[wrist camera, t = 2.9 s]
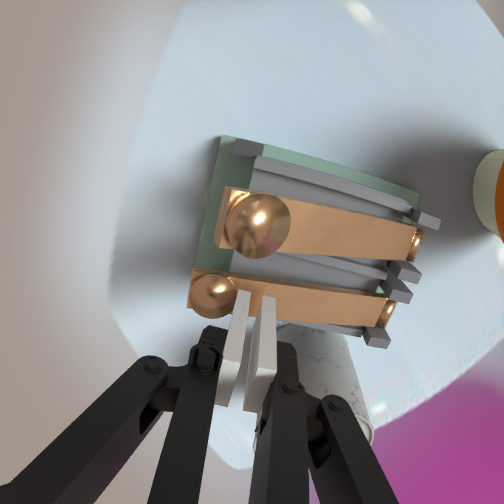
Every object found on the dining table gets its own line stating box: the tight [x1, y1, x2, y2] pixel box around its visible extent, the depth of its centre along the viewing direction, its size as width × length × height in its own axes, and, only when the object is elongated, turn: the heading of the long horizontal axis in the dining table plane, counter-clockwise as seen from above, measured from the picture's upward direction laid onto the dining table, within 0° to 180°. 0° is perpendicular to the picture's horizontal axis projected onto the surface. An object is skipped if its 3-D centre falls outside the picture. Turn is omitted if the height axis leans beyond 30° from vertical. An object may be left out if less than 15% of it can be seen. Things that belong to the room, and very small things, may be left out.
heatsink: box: [195, 135, 442, 349], centre depth 23 cm, size 13×18×8 cm
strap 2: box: [187, 266, 398, 329], centre depth 20 cm, size 3×15×2 cm, turn 76°
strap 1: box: [213, 186, 425, 262], centre depth 16 cm, size 3×15×2 cm
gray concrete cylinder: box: [253, 323, 374, 475], centre depth 25 cm, size 10×10×12 cm
